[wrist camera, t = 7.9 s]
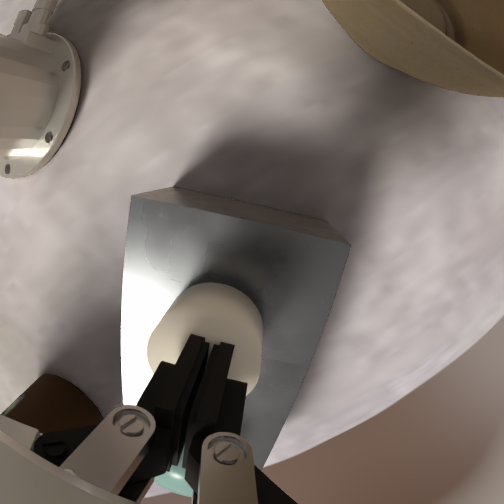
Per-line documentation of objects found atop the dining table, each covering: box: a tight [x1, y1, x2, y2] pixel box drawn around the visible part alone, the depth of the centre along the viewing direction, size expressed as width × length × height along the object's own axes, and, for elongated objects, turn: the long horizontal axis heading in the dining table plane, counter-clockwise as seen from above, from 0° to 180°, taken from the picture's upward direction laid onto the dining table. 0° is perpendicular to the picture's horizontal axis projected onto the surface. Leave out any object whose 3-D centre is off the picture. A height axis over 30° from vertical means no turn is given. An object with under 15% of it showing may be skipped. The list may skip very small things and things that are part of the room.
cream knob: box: [146, 282, 263, 396], centre depth 15 cm, size 4×4×9 cm
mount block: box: [121, 187, 351, 470], centre depth 18 cm, size 20×10×6 cm, turn 167°
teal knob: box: [154, 445, 193, 497], centre depth 18 cm, size 4×4×9 cm
